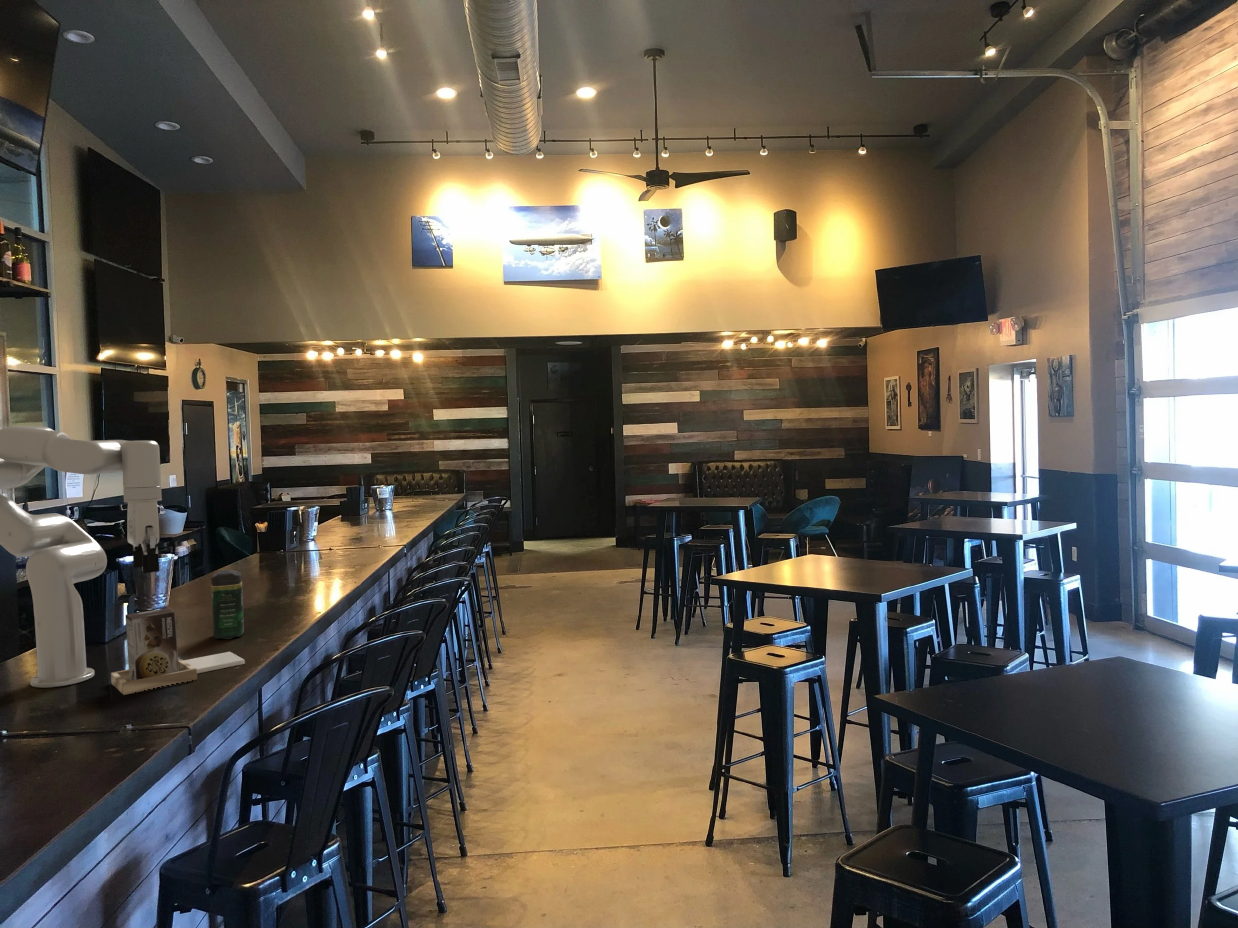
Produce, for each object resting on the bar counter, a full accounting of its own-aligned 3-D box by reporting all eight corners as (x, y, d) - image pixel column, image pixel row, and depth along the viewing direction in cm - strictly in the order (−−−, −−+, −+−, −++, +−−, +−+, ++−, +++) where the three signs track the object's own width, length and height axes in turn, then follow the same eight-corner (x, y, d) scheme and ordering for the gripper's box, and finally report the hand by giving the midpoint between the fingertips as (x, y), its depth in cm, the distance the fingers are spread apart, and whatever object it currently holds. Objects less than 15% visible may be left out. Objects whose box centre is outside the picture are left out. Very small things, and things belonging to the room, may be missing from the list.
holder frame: (111, 683, 195) (110, 672, 195) (182, 669, 205) (181, 659, 205) (123, 694, 186) (123, 683, 186) (197, 679, 196) (196, 668, 196)
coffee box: (171, 674, 201) (168, 607, 200) (179, 680, 197) (176, 611, 196) (128, 683, 195) (124, 613, 194) (135, 689, 190) (131, 618, 190)
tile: (183, 664, 210) (183, 660, 210) (229, 655, 217) (229, 651, 217) (196, 673, 201) (196, 669, 201) (244, 663, 209) (244, 659, 209)
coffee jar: (243, 637, 235) (240, 571, 234) (212, 641, 232) (208, 574, 232) (245, 630, 244) (242, 566, 243) (215, 633, 241) (211, 568, 241)
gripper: (116, 493, 197) (120, 567, 198) (131, 498, 184) (135, 576, 185) (152, 491, 202) (155, 563, 203) (170, 495, 189) (173, 572, 189)
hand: (146, 569), depth 194 cm, fingers open, 9 cm apart
